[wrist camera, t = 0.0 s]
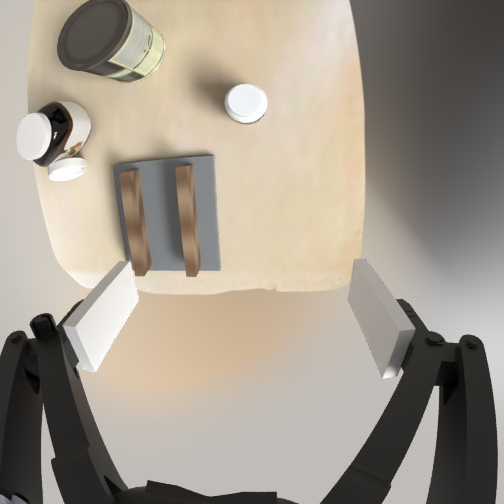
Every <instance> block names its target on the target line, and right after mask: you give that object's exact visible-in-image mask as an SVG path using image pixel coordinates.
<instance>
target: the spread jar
mask: <svg viewBox="0 0 504 504" xmlns="http://www.w3.org/2000/svg"><path fill="white" fill-rule="evenodd" d="M90 132H91V121H90V118H89V116H88V114H87V113H86V111H85V110H84V109H83V108H82V107H81V106H80V105H78V104H76V103H74V102H70V101H55V102H51V103H49V104H47V105H45V106H44V107H43V108H41V109H40V110H39V111H38V112H37V113H30V114H28V115H26V116H25V117H24V118H23V119H22V121H21V122H20V124H19V126H18V129H17V133H16V147H17V150H18V153H19V155H20V156H21V157H22V158H23V159H24V160H28V161H30V160H33V161H34V162H35V163H36V164H38V165H39V166H42V167H48V166H50V167H49V168H48V175H49V179H50V180H53V181H65V180H70V179H74V178H77V177H79V176H81V175H83V174H84V173H85V172H86V171H87V167H86V161H85V160H84V159H82V158H71V157H72V156H74V155H75V154H76V153H77V152H78V151H79V150H81V149H82V147H83V146H84V145H85V144H86V142H87V140H88V138H89V135H90Z"/></svg>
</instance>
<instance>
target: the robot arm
mask: <svg viewBox="0 0 504 504" xmlns="http://www.w3.org/2000/svg"><path fill="white" fill-rule="evenodd" d="M138 301H139V298H138V294H137V289H136V285H135V280H134V276H133V271H132V266H131V261H119V262H118V263H117V264H116V265H115V266H114V267H113V268H112V270H111V271H110V272H109V273H108V274H107V275H106V276H105V277H104V278H103V279H102V280H101V281H100V282H99V284H98V285H97V286H96V287H95V288H94V289H93V290H92V291H91V293H90V294H89V295H88V296H87V297H86V298H85V299H83V300H81V301H79V302H78V303H77V304H75V305H74V306H73V308H72V309H71V311H69V312H68V313H67V315H66V316H65V317H64V318H63V319H62V321H60V323H59V324H58V325H57V326H56V324H55V321H54V319H53V316H52V315H51V314H49V313H44V314H40V315H38V316H36V317H35V318H33V319H32V321H31V322H30V327H31V329H32V331H33V333H34V336H35V338H33V339H28V338H27V336H26V334H25V332H24V331H16V332H13V333H11V334H10V335H9V336H8V337H7V339H6V341H5V344H4V347H3V350H2V352H1V355H0V504H43V491H42V476H41V426H42V411H43V404H44V409H45V414H46V419H47V424H48V428H49V433H50V437H51V441H52V445H53V448H54V452H55V456H56V457H55V458H53V459H52V460H51V464H52V469H53V472H54V475H55V478H56V481H57V484H58V487H59V489H60V493H61V495H62V498H63V501H64V503H65V504H298V503H295V502H293V501H289V500H286V499H282V498H277V492H240V493H234V494H227V495H220V496H212V497H209V496H204V495H202V494H199V493H196V492H193V491H190V490H187V489H185V488H182V487H180V486H177V485H171V484H165V483H159V482H154V481H150V480H148V481H147V486H144V487H135V488H131V489H128V487H127V486H126V485H125V484H124V482H123V480H122V479H121V477H120V475H119V473H118V472H117V470H116V468H115V466H114V464H113V462H112V460H111V458H110V455H109V453H108V451H107V449H106V446H105V445H104V442H103V440H102V437H101V435H100V433H99V430H98V428H97V425H96V423H95V420H94V417H93V415H92V412H91V409H90V406H89V404H88V401H87V398H86V395H85V392H84V389H83V386H82V383H81V380H80V376H79V372H78V370H77V368H76V365H77V363H78V362H80V364H81V366H82V368H83V370H86V371H91V372H96V371H97V369H98V367H99V366H100V364H101V362H102V360H103V359H104V357H105V355H106V353H107V352H108V350H109V348H110V346H111V345H112V343H113V341H114V340H115V338H116V336H117V335H118V333H119V331H120V330H121V328H122V326H123V325H124V323H125V322H126V320H127V318H128V317H129V315H130V314H131V312H132V310H133V309H134V307H135V305H136V304H137V302H138ZM348 301H349V303H350V306H351V308H352V310H353V312H354V314H355V316H356V318H357V321H358V323H359V325H360V327H361V329H362V332H363V334H364V336H365V339H366V341H367V343H368V345H369V348H370V350H371V352H372V355H373V357H374V359H375V362H376V364H377V366H378V369H379V371H380V374H381V376H382V378H389V377H395V376H397V375H398V373H399V371H400V368H401V367H402V369H403V371H404V373H403V375H402V377H401V379H400V381H399V384H398V386H397V388H396V390H395V391H394V393H393V395H392V397H391V399H390V401H389V403H388V405H387V407H386V408H385V410H384V412H383V414H382V416H381V417H380V419H379V421H378V423H377V425H376V426H375V428H374V429H373V431H372V433H371V434H370V436H369V437H368V439H367V441H366V443H365V444H364V445H363V447H362V448H361V450H360V451H359V453H358V454H357V456H356V457H355V459H354V460H353V462H352V463H351V465H350V466H349V467H348V468H347V470H346V471H345V472H344V474H343V475H342V477H341V478H340V479H339V480H338V482H337V483H336V484H335V486H334V487H333V488H332V489H331V491H330V492H329V493H328V494H327V496H326V497H325V498H324V499H323V500H322V502H321V503H320V504H382V502H383V501H384V499H385V497H386V496H387V494H388V492H389V490H390V488H391V481H392V479H393V478H394V476H395V474H396V472H397V470H398V468H399V467H400V465H401V463H402V460H403V459H404V457H405V454H406V453H407V451H408V449H409V447H410V444H411V442H412V440H413V438H414V436H415V433H416V431H417V429H418V426H419V424H420V422H421V419H422V417H423V414H424V412H425V409H426V406H427V404H428V401H429V398H430V395H431V393H432V390H433V387H434V386H440V387H439V415H438V431H437V441H436V450H435V458H434V465H433V471H432V477H431V483H430V488H429V493H428V497H427V502H426V504H495V501H496V489H497V469H498V467H497V466H498V449H497V428H496V415H495V406H494V398H493V392H492V391H493V390H492V384H491V378H490V373H489V368H488V362H487V357H486V353H485V349H484V345H483V343H482V341H481V340H480V339H479V338H478V337H476V336H473V335H464V336H462V337H461V339H460V341H459V343H448V342H446V341H445V339H444V338H443V337H442V336H441V335H440V334H438V333H436V332H432V331H428V329H427V328H426V326H425V325H424V323H423V322H422V321H421V319H420V318H419V316H418V315H417V314H416V312H415V311H414V309H413V308H412V307H411V305H410V304H409V303H407V302H406V301H404V300H403V299H395V298H394V296H393V295H392V293H391V292H390V291H389V289H388V288H387V287H386V285H385V284H384V282H383V281H382V280H381V278H380V277H379V276H378V274H377V273H376V272H375V270H374V269H373V268H372V266H371V265H370V264H369V262H368V261H367V260H366V259H354V263H353V270H352V277H351V284H350V290H349V297H348Z"/></svg>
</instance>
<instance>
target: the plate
mask: <svg viewBox="0 0 504 504" xmlns="http://www.w3.org/2000/svg"><path fill="white" fill-rule="evenodd" d="M185 164H193V174H194V189H195V202H196V215H197V227H198V238H199V248H200V258H201V267H200V269H199V271H220V269H221V260H220V246H219V232H218V216H217V199H216V180H215V158H214V155H211V156H195V157H181V158H170V159H159V160H150V161H141V162H133V163H125V164H118V165H114V175H115V184H116V192H117V200H118V207H119V214H120V220H121V227H122V232H123V238H124V244H125V249H126V254H127V259H128V261H131V266H132V270H134V267H133V262H132V257H131V251H130V246H129V240H128V235H127V229H126V222H125V216H124V209H123V202H122V194H121V186H120V177H119V174H120V173H123V172H126V171H128V170H133V169H139V171H140V182H141V191H142V200H143V208H144V216H145V223H146V230H147V237H148V243H149V250H150V256H151V261H152V266H151V267H150V269H149V270H172V271H186V268H185V260H184V253H183V244H182V235H181V226H180V217H179V206H178V195H177V184H176V170H175V168H176V167H179V166H181V165H185Z"/></svg>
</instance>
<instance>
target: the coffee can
mask: <svg viewBox="0 0 504 504" xmlns="http://www.w3.org/2000/svg"><path fill="white" fill-rule="evenodd" d="M165 51H166V44H165V40H164V37H163V35H162V34H161V33H160V32H159V31H158V30H157V29H155V28H154V27H153V26H152V25H151V24H149V23H148V22H147V21H146V20H145V19H144V18H143V17H142V16H140V15H139V14H138V13H137V12H136V11H135V10H133V9H132V8H131V7H130V6H129V5H128V3H127V2H126V1H125V0H89V1H87V2H86V3H84V4H83V5H81V6H80V7H79V8H78V9H77V10H76V11H75V12H74V13H73V14H72V15H71V16H70V17H69V18H68V20H67V21H66V23H65V24H64V26H63V28H62V30H61V33H60V36H59V39H58V44H57V52H58V56H59V59H60V61H61V63H62V64H63V65H64V66H65V67H67V68H69V69H71V70H76V71H84V72H88V73H92V74H96V75H100V76H104V77H107V78H111V79H115V80H118V81H120V82H123V83H135V82H138V81H141V80H143V79H145V78H147V77H148V76H150V75H151V74H152V73H153V72H154V71H155V70H156V69H157V68H158V67H159V65H160V64H161V62H162V60H163V58H164V55H165Z"/></svg>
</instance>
